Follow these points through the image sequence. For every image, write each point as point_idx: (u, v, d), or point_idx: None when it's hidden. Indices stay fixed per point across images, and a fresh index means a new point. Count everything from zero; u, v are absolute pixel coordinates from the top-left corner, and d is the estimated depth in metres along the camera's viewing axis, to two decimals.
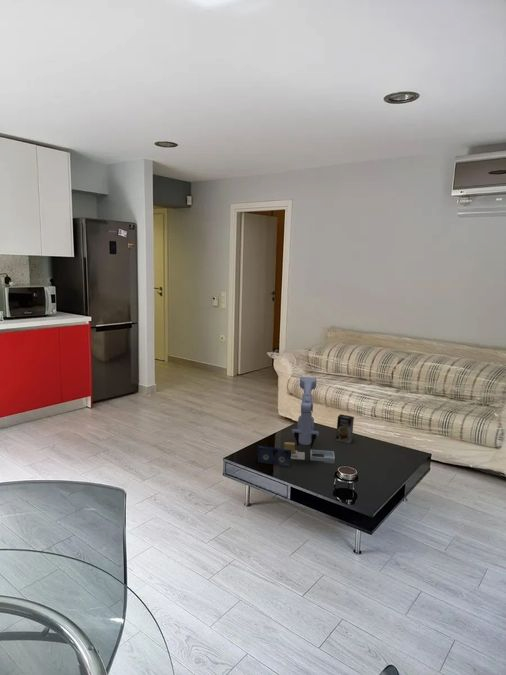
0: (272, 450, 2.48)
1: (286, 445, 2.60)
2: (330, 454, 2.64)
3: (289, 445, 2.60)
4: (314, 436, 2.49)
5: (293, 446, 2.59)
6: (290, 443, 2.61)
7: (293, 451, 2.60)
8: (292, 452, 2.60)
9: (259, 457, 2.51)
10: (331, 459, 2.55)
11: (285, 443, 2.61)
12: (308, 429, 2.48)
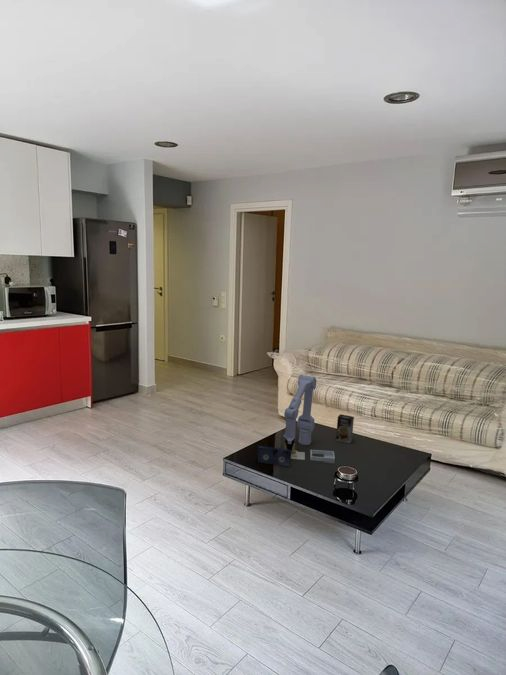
0: (272, 450, 2.48)
1: None
2: (330, 454, 2.64)
3: None
4: (286, 441, 2.58)
5: (293, 446, 2.59)
6: None
7: (293, 451, 2.60)
8: (292, 452, 2.60)
9: (259, 457, 2.51)
10: (331, 459, 2.55)
11: (285, 443, 2.61)
12: (286, 433, 2.59)
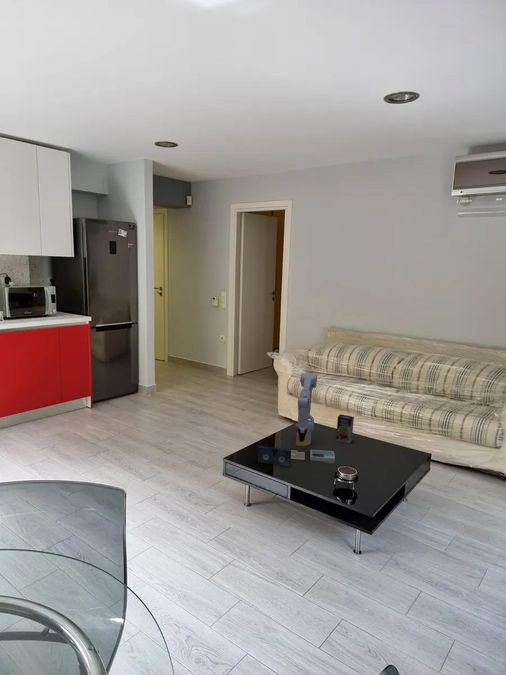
0: (272, 450, 2.48)
1: (298, 435, 2.58)
2: (330, 454, 2.64)
3: None
4: (299, 430, 2.56)
5: (305, 435, 2.58)
6: None
7: (305, 441, 2.58)
8: (304, 442, 2.58)
9: (259, 457, 2.51)
10: (331, 459, 2.55)
11: (297, 433, 2.59)
12: (298, 422, 2.57)
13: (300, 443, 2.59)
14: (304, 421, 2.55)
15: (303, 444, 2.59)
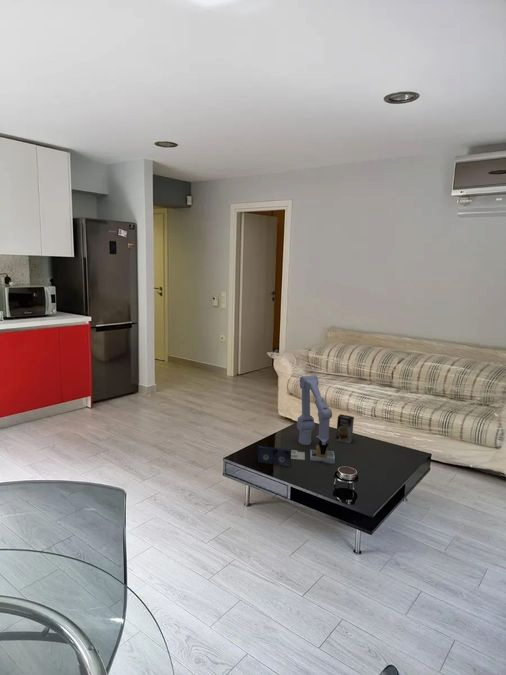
0: (272, 450, 2.48)
1: (318, 448, 2.58)
2: (330, 454, 2.64)
3: None
4: (320, 443, 2.54)
5: None
6: None
7: (325, 454, 2.58)
8: (324, 455, 2.58)
9: (259, 457, 2.51)
10: (331, 459, 2.55)
11: (317, 446, 2.59)
12: (319, 434, 2.56)
13: None
14: (325, 433, 2.55)
15: None
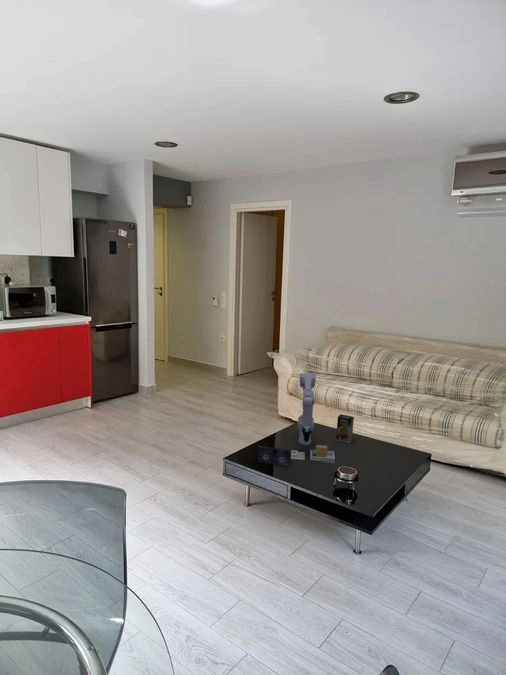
0: (272, 450, 2.48)
1: (318, 448, 2.58)
2: (330, 454, 2.64)
3: (321, 449, 2.58)
4: (303, 430, 2.58)
5: (325, 449, 2.58)
6: (322, 446, 2.59)
7: (325, 454, 2.58)
8: (324, 455, 2.58)
9: (259, 457, 2.51)
10: (331, 459, 2.55)
11: (317, 446, 2.59)
12: (303, 421, 2.61)
13: None
14: (308, 420, 2.60)
15: None
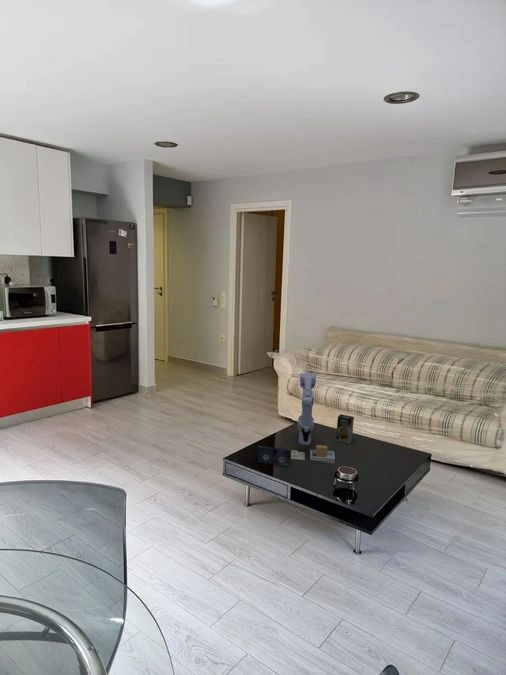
0: (272, 450, 2.48)
1: (318, 448, 2.58)
2: (330, 454, 2.64)
3: (321, 449, 2.58)
4: (303, 430, 2.59)
5: (325, 449, 2.58)
6: (322, 446, 2.59)
7: (325, 454, 2.58)
8: (324, 455, 2.58)
9: (259, 457, 2.51)
10: (331, 459, 2.55)
11: (317, 446, 2.59)
12: (302, 421, 2.61)
13: None
14: (308, 420, 2.60)
15: None
